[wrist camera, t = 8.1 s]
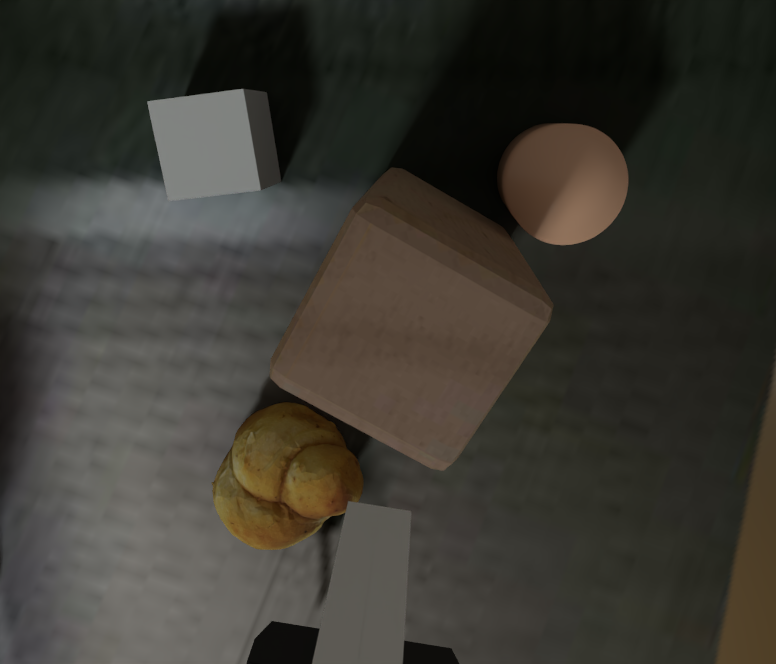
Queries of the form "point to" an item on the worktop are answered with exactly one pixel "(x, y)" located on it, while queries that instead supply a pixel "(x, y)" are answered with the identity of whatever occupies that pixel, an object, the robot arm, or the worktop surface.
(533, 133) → the peach round cylinder
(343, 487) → the bread roll
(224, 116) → the grey plastic cube
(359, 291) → the wooden block
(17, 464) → the worktop surface
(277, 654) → the robot arm
